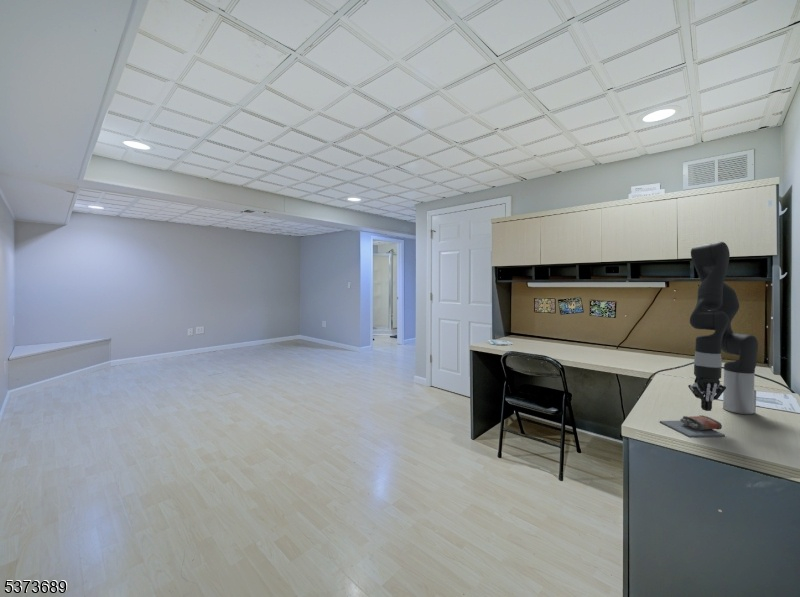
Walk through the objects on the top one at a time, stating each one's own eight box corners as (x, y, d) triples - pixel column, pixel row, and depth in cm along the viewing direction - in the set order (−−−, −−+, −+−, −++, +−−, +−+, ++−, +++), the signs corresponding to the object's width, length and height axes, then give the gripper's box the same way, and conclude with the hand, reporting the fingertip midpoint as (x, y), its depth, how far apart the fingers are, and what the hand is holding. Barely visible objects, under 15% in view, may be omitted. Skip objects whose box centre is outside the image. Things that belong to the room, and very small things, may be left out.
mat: (691, 421, 131) (691, 420, 131) (724, 436, 118) (725, 434, 118) (659, 422, 130) (659, 420, 130) (689, 437, 117) (689, 435, 117)
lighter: (699, 421, 129) (676, 423, 128) (700, 413, 129) (676, 414, 128) (721, 431, 121) (696, 432, 120) (722, 422, 121) (697, 423, 120)
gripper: (714, 361, 128) (713, 406, 128) (681, 362, 127) (680, 406, 128) (735, 366, 120) (733, 413, 121) (700, 366, 120) (698, 414, 120)
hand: (706, 410), depth 124 cm, fingers closed
